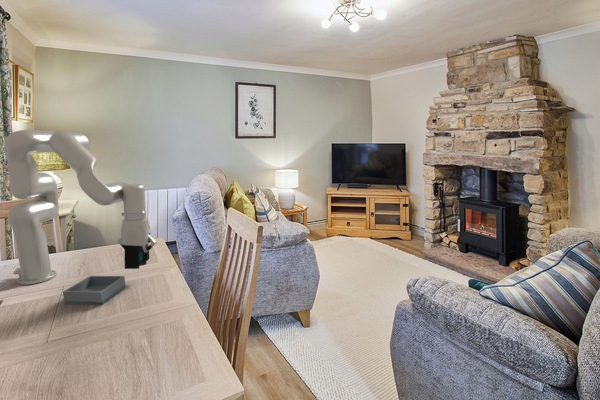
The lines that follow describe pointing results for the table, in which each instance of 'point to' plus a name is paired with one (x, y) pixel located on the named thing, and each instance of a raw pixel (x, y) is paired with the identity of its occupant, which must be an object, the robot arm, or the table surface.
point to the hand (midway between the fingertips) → (138, 260)
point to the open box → (94, 290)
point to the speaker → (133, 257)
